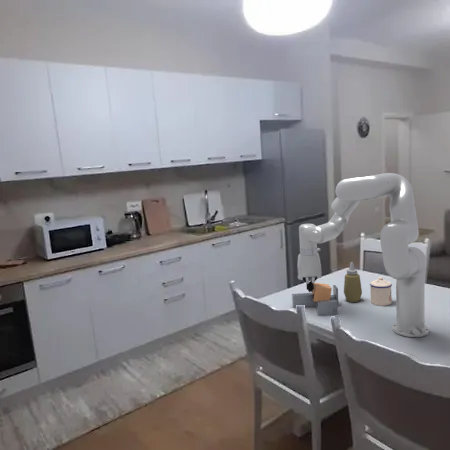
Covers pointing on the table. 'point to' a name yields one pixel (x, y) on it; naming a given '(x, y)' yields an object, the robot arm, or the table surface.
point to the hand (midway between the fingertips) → (310, 291)
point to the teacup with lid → (381, 292)
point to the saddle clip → (321, 292)
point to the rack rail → (311, 298)
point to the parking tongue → (327, 307)
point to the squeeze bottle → (352, 284)
